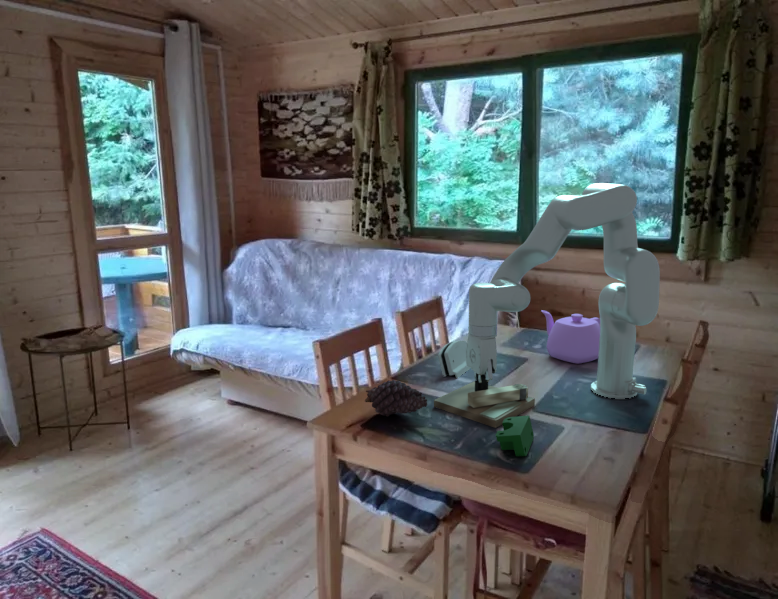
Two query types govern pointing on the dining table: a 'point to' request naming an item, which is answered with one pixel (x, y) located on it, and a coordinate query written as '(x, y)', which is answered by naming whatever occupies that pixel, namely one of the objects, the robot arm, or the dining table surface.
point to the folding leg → (497, 395)
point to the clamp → (516, 435)
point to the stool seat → (484, 414)
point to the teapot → (573, 338)
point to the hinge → (453, 358)
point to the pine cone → (395, 398)
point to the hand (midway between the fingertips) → (481, 394)
